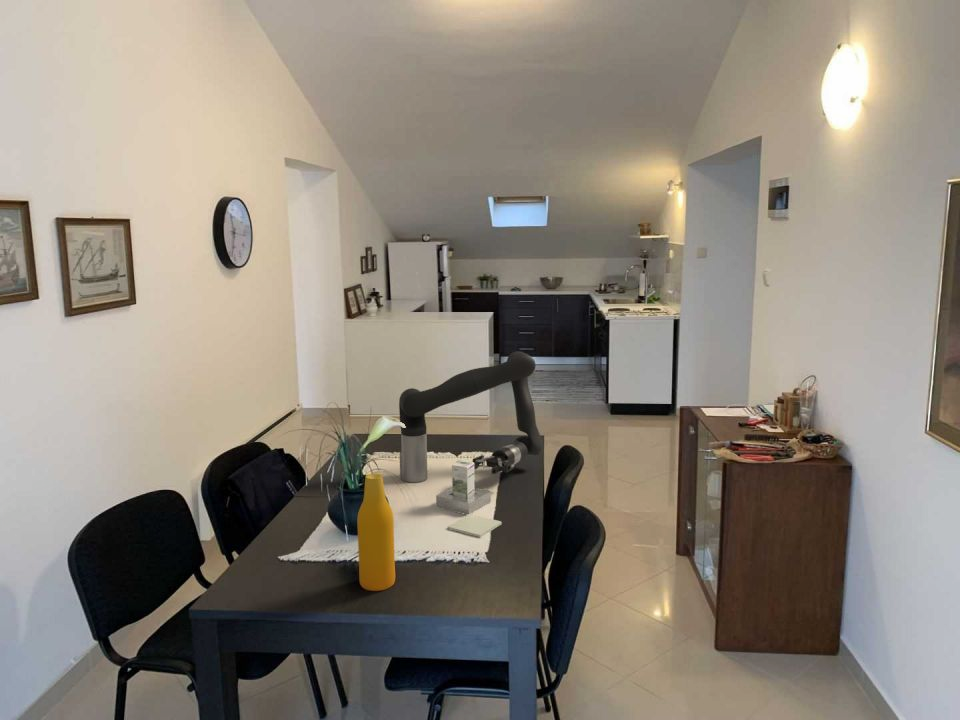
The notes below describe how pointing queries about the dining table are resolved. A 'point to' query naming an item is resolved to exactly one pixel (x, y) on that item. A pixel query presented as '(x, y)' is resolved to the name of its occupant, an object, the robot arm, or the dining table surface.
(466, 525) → the pad
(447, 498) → the housing
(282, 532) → the dining table surface
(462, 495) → the syrup box
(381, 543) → the beer bottle
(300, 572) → the dining table surface
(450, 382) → the robot arm
